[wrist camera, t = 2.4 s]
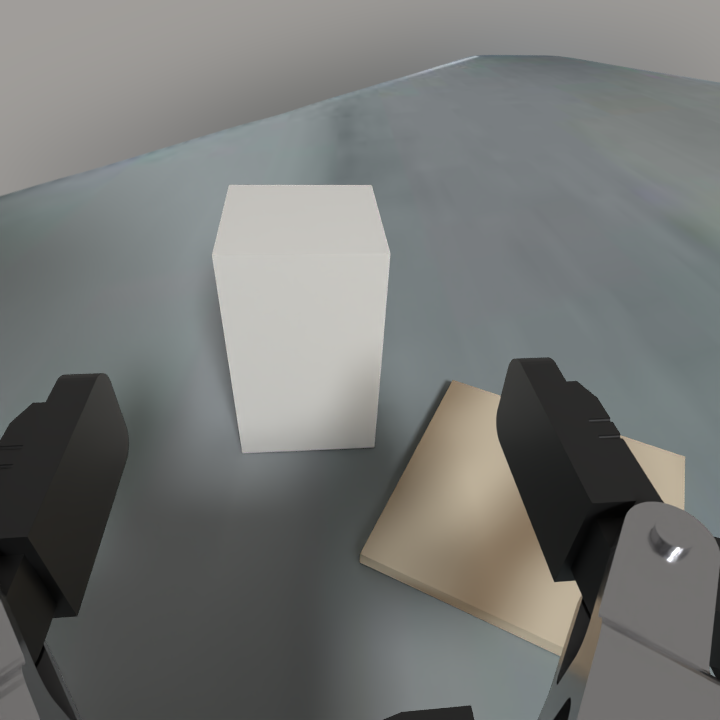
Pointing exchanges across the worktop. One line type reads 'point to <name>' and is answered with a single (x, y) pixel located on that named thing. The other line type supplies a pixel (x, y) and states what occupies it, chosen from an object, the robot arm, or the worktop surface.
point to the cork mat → (484, 524)
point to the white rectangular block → (303, 313)
